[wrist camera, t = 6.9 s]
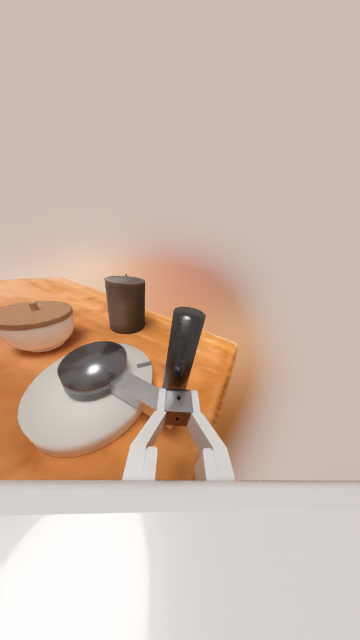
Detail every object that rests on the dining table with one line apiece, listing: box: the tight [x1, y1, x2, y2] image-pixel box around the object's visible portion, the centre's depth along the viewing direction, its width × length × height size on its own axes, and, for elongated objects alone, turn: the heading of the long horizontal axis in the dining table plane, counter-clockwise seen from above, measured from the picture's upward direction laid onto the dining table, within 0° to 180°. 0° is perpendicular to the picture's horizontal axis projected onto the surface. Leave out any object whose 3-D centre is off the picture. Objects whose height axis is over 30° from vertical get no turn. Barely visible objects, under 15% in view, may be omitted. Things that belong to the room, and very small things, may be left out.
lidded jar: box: [0, 301, 74, 353], centre depth 26 cm, size 11×11×9 cm
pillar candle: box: [104, 274, 145, 334], centre depth 35 cm, size 10×10×15 cm
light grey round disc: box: [17, 343, 153, 458], centre depth 20 cm, size 16×16×3 cm
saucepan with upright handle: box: [57, 307, 205, 430], centre depth 15 cm, size 17×8×14 cm, turn 67°
